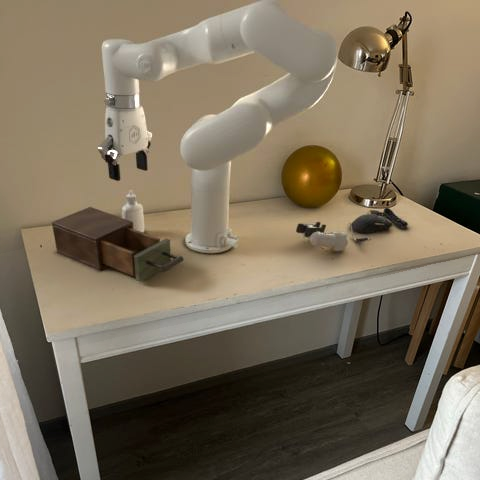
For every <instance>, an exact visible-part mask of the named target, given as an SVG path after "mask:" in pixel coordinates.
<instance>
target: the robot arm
mask: <svg viewBox="0 0 480 480" xmlns="http://www.w3.org/2000/svg"><path fill="white" fill-rule="evenodd" d="M338 52H339V49H338V44H337V40H336V38H335V37H334V35H332V34H331V33H330V32H329V31H327V30H325V29H313V28H311V27H309V26H307V25H306V24H304V23H302V22H300V21H299V20H297V19H296V18H294V17H293V16H291V15H289V14H288V13H287V11H286V10H285V7H284V6H283V5H282V4H281V3H280V2H279V1H277V0H259V1H256V2H252V3H250V4H247V5H244V6H241V7H238V8H236V9H233V10H229V11H226V12H223V13H221V14H220V13H219V14H218V15H214V16H211V17H209V18H206V19H204V20H202V21H200V22H199V23H198V24H196V25H193V26H192V27H189V28H186V29H182V30H180V31H178V32H177V31H176V32H175V33H171V34H168V35H165V36H161V37H158V38H156V39H152V40H149V41H146V42H143V43H135V42H133V41H132V40H129V39H123V38H110V39H109V38H108V39H106V40H104V41H103V42H102V44H101V58H102V67H103V77H104V87H105V88H104V91H105V99H104V104H105V106H106V108H105V114H104V115H105V116H104V133H105V134H104V135H105V136H104V137H105V139H104V140H103V141H102V142H101V143H100V145H98V147H97V151H98V152H99V155H100V156H101V158H102V159H103V160H104V162H105V163H106V164H107V169H108V170H107V171H108V177H109V179H110V180H114V181H115V182H119V181H121V167H120V164H119V160H120V157H121V156H123V157H125V156H128V155H131V154H134V153H135V163H136V164H135V165H136V169H138V170H140V171H141V170H142V171H144V172H146V171H148V169H149V167H148V154H149V153H150V152H149V149H150V147H151V144H152V143H151V142H152V139H153V133H152V132H150V131H148V126H147V121H146V115H145V111H144V107H143V105H141V96H140V95H141V94H140V81H141V82H145V83H155V82H158V81H160V80H162V79H163V78H165V77H167V76H169V75H171V74H173V73H177V72H180V71H183V70H186V69H189V68H193V67H196V66H200V65H204V64H211V65H217V64H223V63H226V62H228V61H231V60H234V59H238V58H242V57H244V56H247V55H250V54H254V53H256V54H257V55H259V56H260V57H262V58H264V59H265V60H267V61H268V62H270V63H272V64H273V65H275V66H277V67H278V68H280V69H282V70H284V71H285V72H287V73H286V74H285V75H284V76H282V77H280V78H278V79H276V80H275V81H273V82H271V83H270V84H268V85H266V86H263V87H262V88H260V89H257V91H256V90H255V91H254V92H252V93H249V94H248V95H247V94H246V95H245V96H242V97H241V98H239V99H238V100H237V101H235V102H234V103H233V104H232V105H231V107H229V108H227V109H225V110H224V111H221V112H219V113H218V114H206V115H202V116H201V117H200V118H198V119H197V120H196V121H195V122H194V123H193V124H192V125H191V126H190V127H189V128H188V129H187V130H186V132H185V133H184V134H183V136H182V138H181V141H180V147H179V151H180V155H181V158H182V160H183V161H184V163H185V164H186V165H187V166H188V167H189V168H190V232H189V233H187V234H186V236H185V239H184V240H185V245H186V246H187V247H188V248H189V249H190V250H192V251H195V252H198V253H201V254H219V253H223V252H226V251H228V250H230V249H231V248H234V249H237V248H238V247H239V244H240V240H241V239H240V236H237V235H233V233H232V232H233V229H232V227H229V215H230V214H229V213H230V211H229V210H230V187H231V186H230V185H231V170H232V169H231V168H232V161H233V160H235V159H237V158H239V157H241V156H243V155H245V154H247V153H249V152H251V151H253V150H254V149H256V148H257V147H258V146H260V145H261V144H262V143H263V142H264V141H265V139H266V137H267V136H268V134H269V133H270V132H271V131H273V130H275V129H276V128H278V127H279V126H281V125H283V124H285V123H287V122H290V121H291V120H293V119H294V118H297V117H298V116H300V115H302V114H303V113H305V112H307V111H308V110H310V109H311V108H312V107H314V106H315V105H316V104H317V103H318V102H319V101H320V100H321V99H322V97H323V96H324V95H325V94H326V91H327V90H328V89H329V87H330V85H331V83H332V81H333V78H334V75H335V72H336V69H337V62H338V54H339V53H338Z"/></svg>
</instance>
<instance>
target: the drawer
mask: <svg viewBox="0 0 480 480" xmlns="http://www.w3.org/2000/svg"><path fill="white" fill-rule="evenodd" d="M99 247H100V255H101V263H103V264H105V265H107V267H110V268H113V269H115V270H117V271H120V272H122V273H125V274H126V275H130V276H132V277H135V281H136V282H139V283H141V282H143V281H145V280H146V279H148V278H150V277H151V276H152V275H154V274H156V273H158V272H159V271H161V272H162V273H167V272H168V271H169V270H171V269H173V268H175V267H176V266H177V265H179V264H181V263H183V262H184V260H185V258H184V257H183V256H182V255H179V256H177V255H175V254H172V253H171V250H172V249H171V239H169V238H164V239H162V240H161V238H159V237H157V236H154V235H151V234H148V233H145V232H140V231H137V230H135V229H132V228H129V227H127V228H125V229H123V230H121V231H119V232H116V233H114V234H112V235H110V236H108V237H106V238H104V239H102V240H100V241H99Z"/></svg>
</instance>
